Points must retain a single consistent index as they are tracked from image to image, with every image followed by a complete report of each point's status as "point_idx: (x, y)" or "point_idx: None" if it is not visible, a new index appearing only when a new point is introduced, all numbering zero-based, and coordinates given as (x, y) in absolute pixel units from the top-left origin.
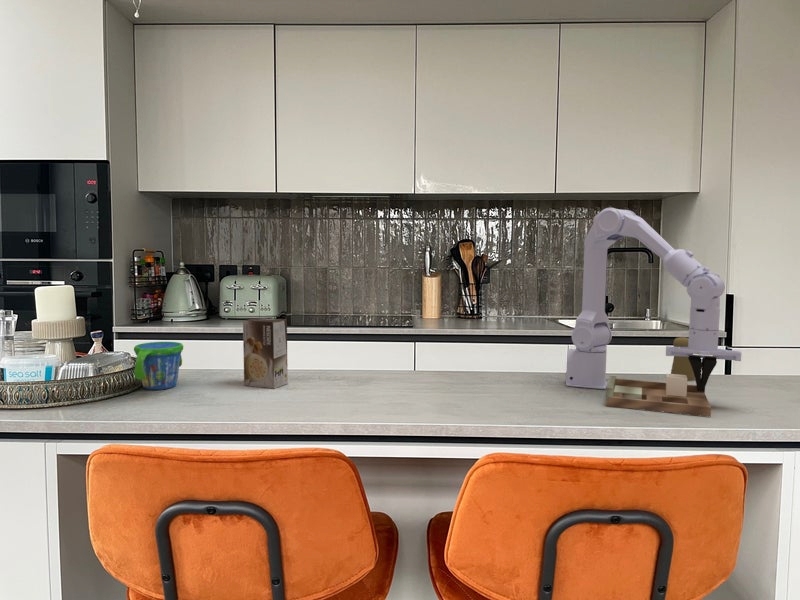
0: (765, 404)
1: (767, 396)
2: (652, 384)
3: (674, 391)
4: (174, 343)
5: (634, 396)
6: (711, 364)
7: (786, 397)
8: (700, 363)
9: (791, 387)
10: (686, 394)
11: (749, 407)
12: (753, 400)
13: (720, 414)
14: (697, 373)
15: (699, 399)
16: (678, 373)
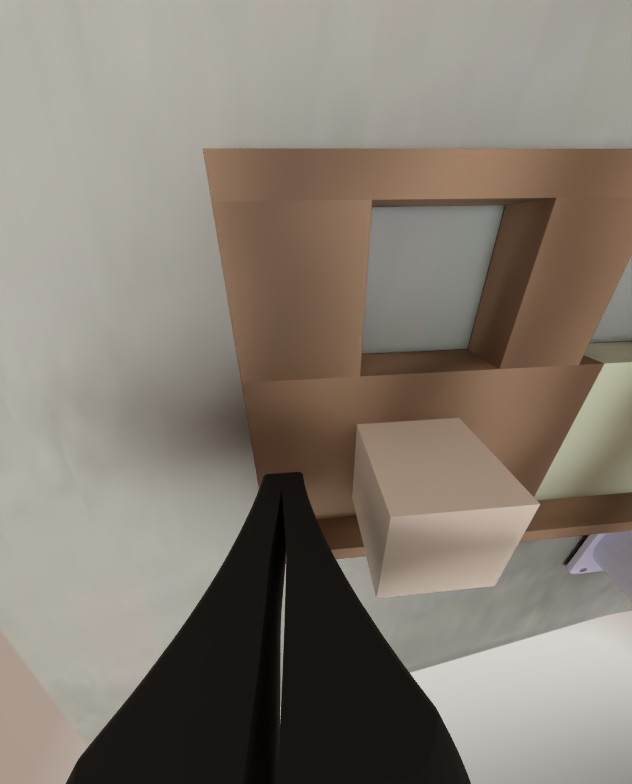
0: (51, 554)
1: (84, 630)
2: None
3: (429, 435)
4: None
5: (625, 354)
6: (128, 777)
7: (31, 642)
8: (303, 758)
9: (63, 707)
10: (360, 432)
11: (87, 491)
12: (107, 580)
13: (175, 289)
14: (319, 583)
15: (290, 390)
16: None
